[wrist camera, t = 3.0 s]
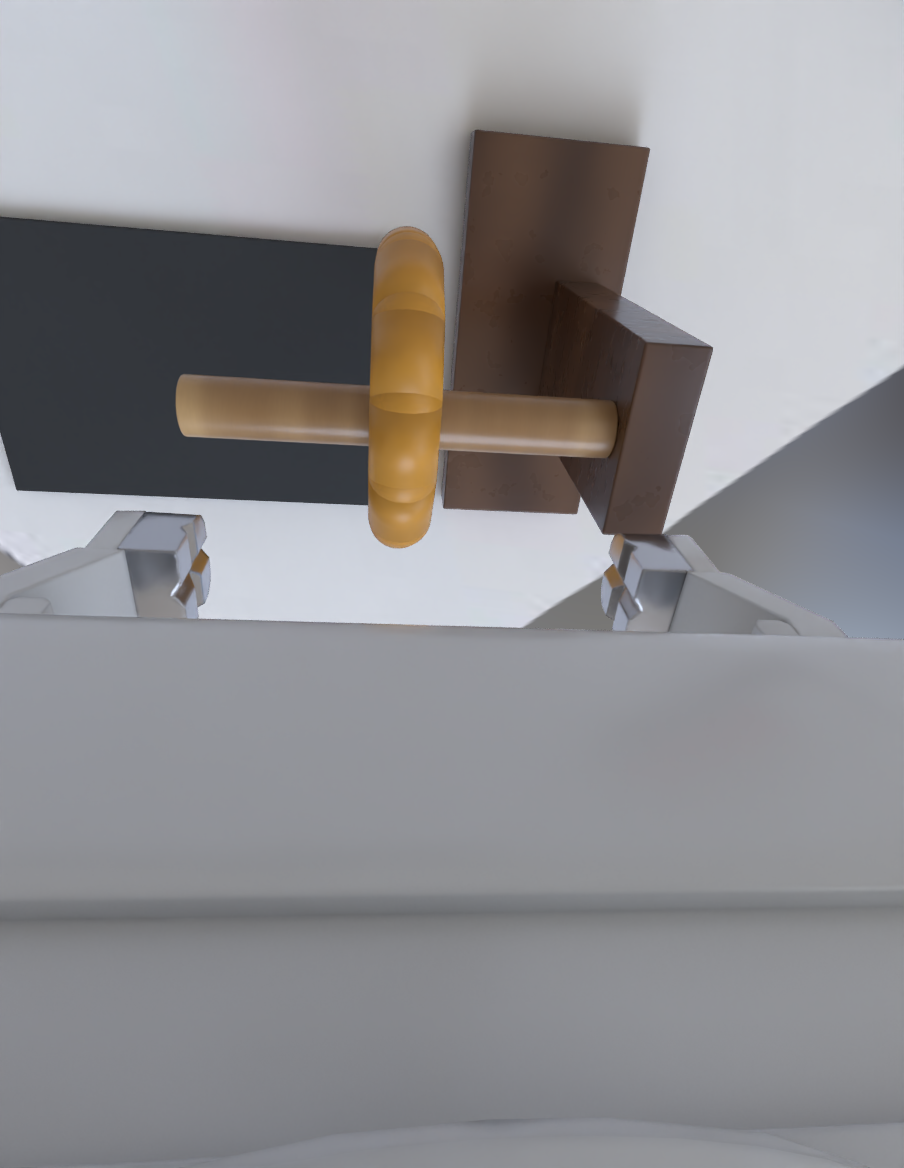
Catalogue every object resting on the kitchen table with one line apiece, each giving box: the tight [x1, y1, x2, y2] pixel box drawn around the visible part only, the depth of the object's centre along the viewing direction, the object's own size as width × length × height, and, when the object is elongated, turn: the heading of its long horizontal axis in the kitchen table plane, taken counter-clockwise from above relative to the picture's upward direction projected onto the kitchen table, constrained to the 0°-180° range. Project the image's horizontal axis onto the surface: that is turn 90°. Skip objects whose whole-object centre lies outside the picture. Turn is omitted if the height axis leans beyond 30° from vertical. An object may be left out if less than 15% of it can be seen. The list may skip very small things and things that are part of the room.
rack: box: [176, 130, 713, 535], centre depth 25 cm, size 16×16×14 cm
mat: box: [0, 217, 378, 505], centre depth 31 cm, size 19×12×1 cm, turn 85°
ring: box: [368, 226, 445, 548], centre depth 22 cm, size 10×2×10 cm, turn 175°
